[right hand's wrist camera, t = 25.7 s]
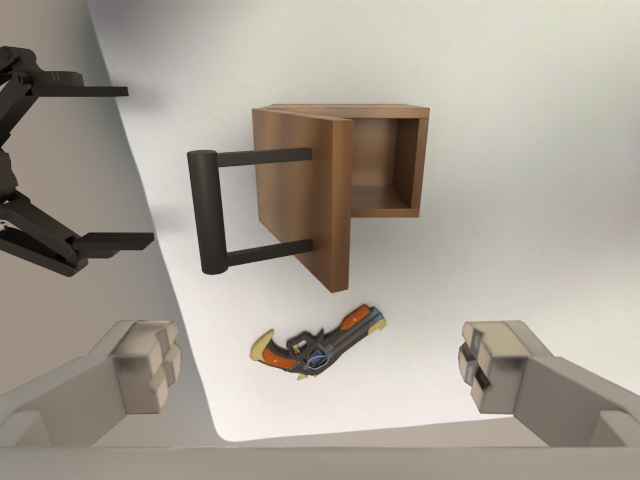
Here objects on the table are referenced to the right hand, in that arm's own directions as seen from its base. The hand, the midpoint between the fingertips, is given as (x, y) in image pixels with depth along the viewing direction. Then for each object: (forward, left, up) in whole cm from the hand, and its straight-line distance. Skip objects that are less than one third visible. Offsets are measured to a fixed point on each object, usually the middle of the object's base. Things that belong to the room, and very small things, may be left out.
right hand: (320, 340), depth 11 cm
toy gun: (-19, +19, -38) cm, 46 cm away
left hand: (+11, +12, -25) cm, 30 cm away
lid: (+1, +1, -19) cm, 20 cm away
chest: (-2, -2, -38) cm, 38 cm away
